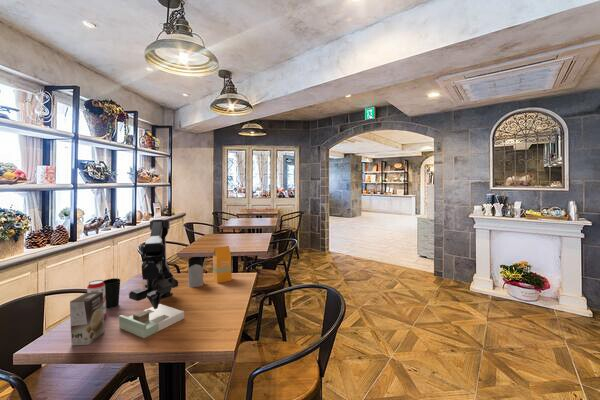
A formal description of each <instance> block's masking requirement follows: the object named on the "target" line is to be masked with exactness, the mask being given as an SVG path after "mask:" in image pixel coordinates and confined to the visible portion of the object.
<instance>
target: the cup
mask: <svg viewBox="0 0 600 400" xmlns="http://www.w3.org/2000/svg"><path fill="white" fill-rule="evenodd" d="M103 282H104V284H105V296H106V310H107V309H113V308H117V307H118V306H119V303H120V290H121V289H120V288H121V278H117V277H116V278H115V277H114V278H113V277H112V278H107V279H104V280H103Z"/></svg>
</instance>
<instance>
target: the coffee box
mask: <svg viewBox="0 0 600 400" xmlns="http://www.w3.org/2000/svg"><path fill="white" fill-rule="evenodd" d="M69 315H70V318H69V319H70V338H71V339H70V341H71V344H70V345H71V346H89V345H91V344H92V343H93V342H94V341H95V340H96V339H97V338H99V337H100V336H101V335H102V334H104V333H105V321H104V319H105V318H104V312H103V292H91V293H87V292H85V293H83V294H82V295H80V296H78V297H76V298H74V299H72V300H70V301H69Z"/></svg>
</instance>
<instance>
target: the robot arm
mask: <svg viewBox="0 0 600 400" xmlns="http://www.w3.org/2000/svg"><path fill="white" fill-rule="evenodd" d="M170 229H171V223H170V220H168V219H163V218H153V219H151V220H150V221H149V230H150V236H149V238H148V239H146V240H145V242H144V245H143V246H142V252H141V253H142V254H141V262H142V263H143V262H145V261H146V266H145V268H144V269H143V272H142V271H141V274H142V275H143V277H144V278H145V279H147V280H146V284H144V288H145V289H142V288H137V289H133V290H131V291H130V292H129V293H128V298H129V299H131V300H133V301H136V302H140V301H142V300H145V299H146V298H147V299H148V301H149V302H150V304H151V307H153V308H154V309H157V308H158V305H159V304H160V302H161V299H164V298H166V297H167V298H168V297H169V296H171V295H174V294H173V292H172V288H173V289H174V288H177V287H179V281H178V280H177V279H176V278H175V277H174V275H173V273H172V271H171V267H170V266H169V265H168V264H167V245H166V244H167V241H166V237H167V235H168V233H169V231H170ZM149 256H151V257H149Z"/></svg>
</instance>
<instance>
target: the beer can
mask: <svg viewBox="0 0 600 400" xmlns="http://www.w3.org/2000/svg"><path fill="white" fill-rule="evenodd" d="M103 281H104V280H103V279H97V280H92V281H89V282H88V285H87V288H86V289H87V290H86V291H87V292H86V293H91V292H103V312H104V319H105V318H106V316H107V309H106V296H105V284H104V282H103Z"/></svg>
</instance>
